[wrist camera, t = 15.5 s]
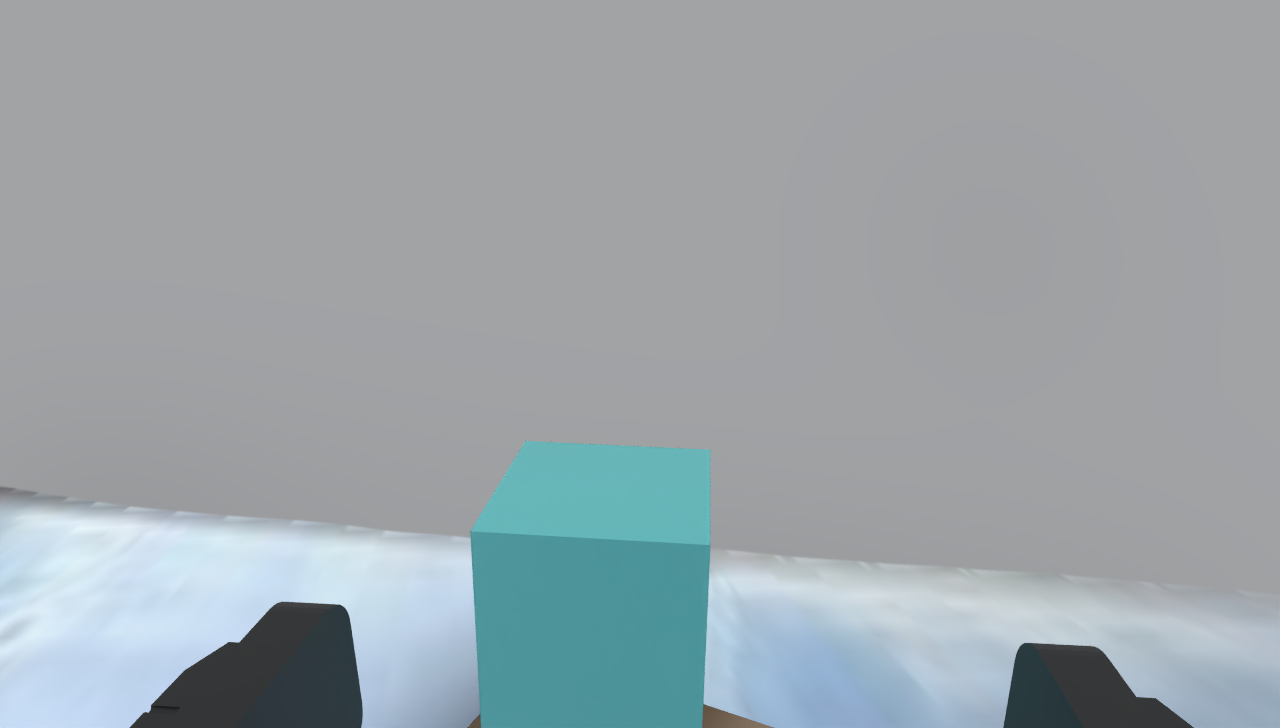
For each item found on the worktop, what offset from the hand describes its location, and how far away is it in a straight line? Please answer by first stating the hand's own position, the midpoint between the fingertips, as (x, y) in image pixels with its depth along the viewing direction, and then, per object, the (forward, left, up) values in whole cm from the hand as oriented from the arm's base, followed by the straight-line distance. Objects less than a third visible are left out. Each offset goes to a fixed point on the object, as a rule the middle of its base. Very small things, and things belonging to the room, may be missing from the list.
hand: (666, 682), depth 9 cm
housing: (+5, -9, -13) cm, 17 cm away
